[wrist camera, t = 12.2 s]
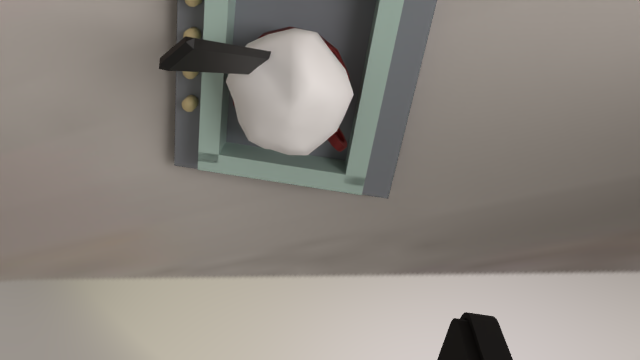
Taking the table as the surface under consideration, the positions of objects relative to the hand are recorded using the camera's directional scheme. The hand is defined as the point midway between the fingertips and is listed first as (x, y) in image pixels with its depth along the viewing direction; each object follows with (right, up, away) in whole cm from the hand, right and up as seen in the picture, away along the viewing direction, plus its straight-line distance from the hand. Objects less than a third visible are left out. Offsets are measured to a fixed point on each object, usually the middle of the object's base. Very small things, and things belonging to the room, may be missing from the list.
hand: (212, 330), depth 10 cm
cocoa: (+1, +10, +19) cm, 21 cm away
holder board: (+1, +10, +20) cm, 22 cm away
